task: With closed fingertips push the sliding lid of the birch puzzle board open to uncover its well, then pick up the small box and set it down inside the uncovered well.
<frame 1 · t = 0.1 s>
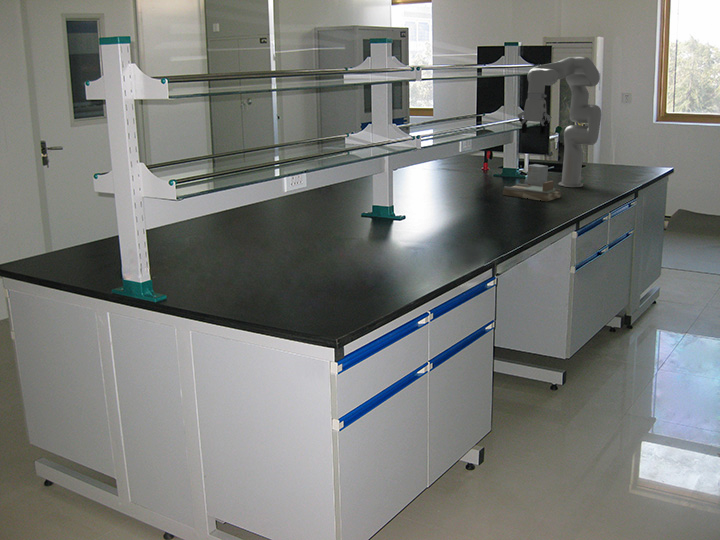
hand: (533, 133, 360), 31 cm above the worktop, fingers open, 9 cm apart
lid: (539, 185, 369), point 6 cm above the worktop, slide at 0.0 cm
board: (531, 196, 373), on the worktop
small box: (536, 191, 386), on the worktop
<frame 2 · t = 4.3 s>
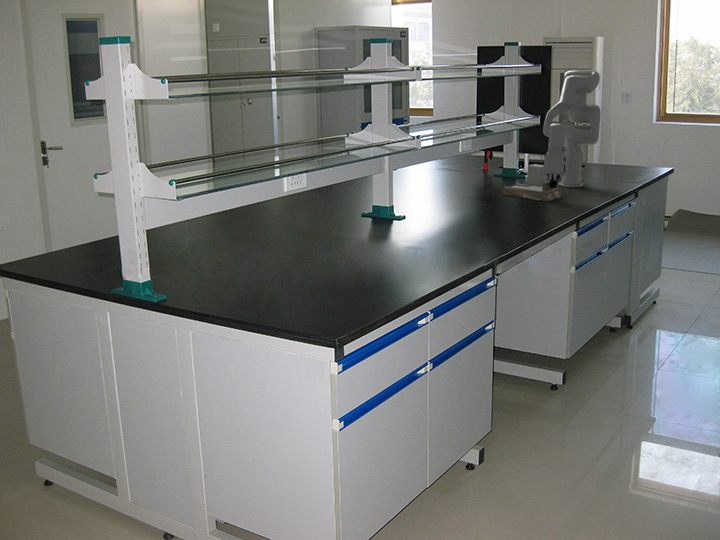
hand: (553, 187, 364), 5 cm above the worktop, fingers closed
lid: (539, 185, 369), point 6 cm above the worktop, slide at 0.2 cm, touching gripper
everything else where it was.
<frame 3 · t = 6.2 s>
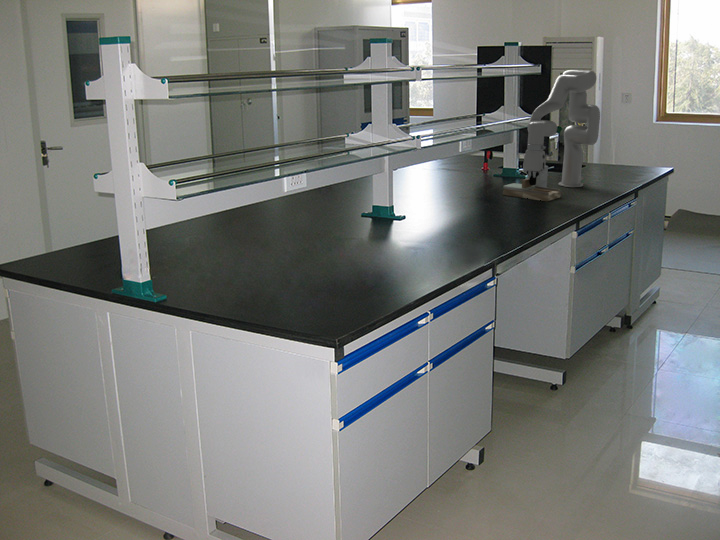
hand: (532, 185, 371), 5 cm above the worktop, fingers closed
lid: (519, 182, 376), point 6 cm above the worktop, slide at 11.2 cm, touching gripper
everything else where it was.
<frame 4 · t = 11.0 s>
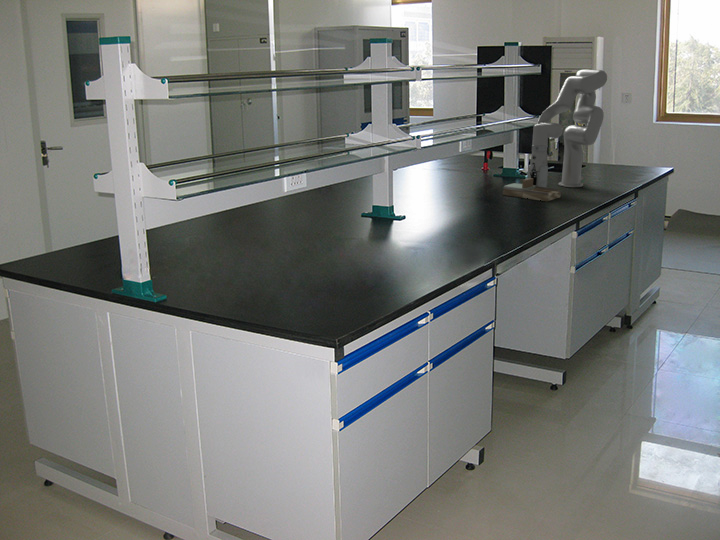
hand: (536, 183, 385), 4 cm above the worktop, fingers closed on small box, 6 cm apart
lid: (519, 183, 376), point 6 cm above the worktop, slide at 11.0 cm
small box: (536, 191, 386), on the worktop, touching gripper
when the fingers open (6 cm above the worktop, at t = 17.5 s): small box drops 1 cm, resting on board.
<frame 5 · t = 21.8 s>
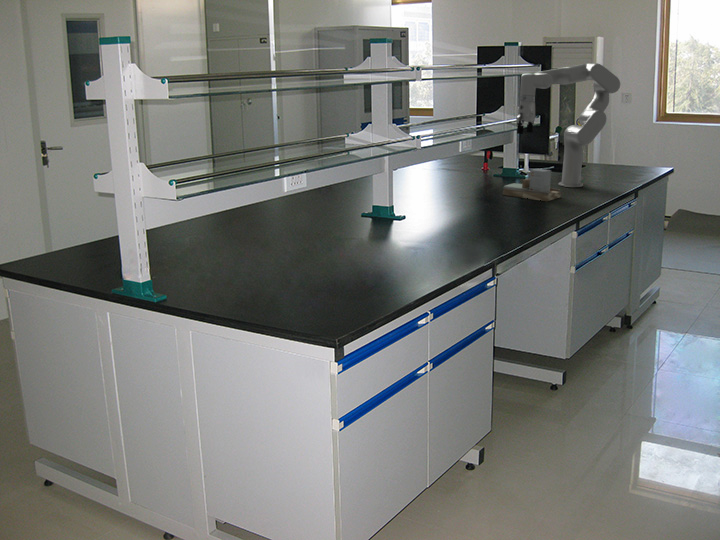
hand: (524, 133, 386), 28 cm above the worktop, fingers open, 9 cm apart
small box: (538, 196, 371), resting on board
everything else where it was.
at the end: lid slide at 11.0 cm; small box 0.4 cm from the target spot, resting on board; small box tilted 0° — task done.
